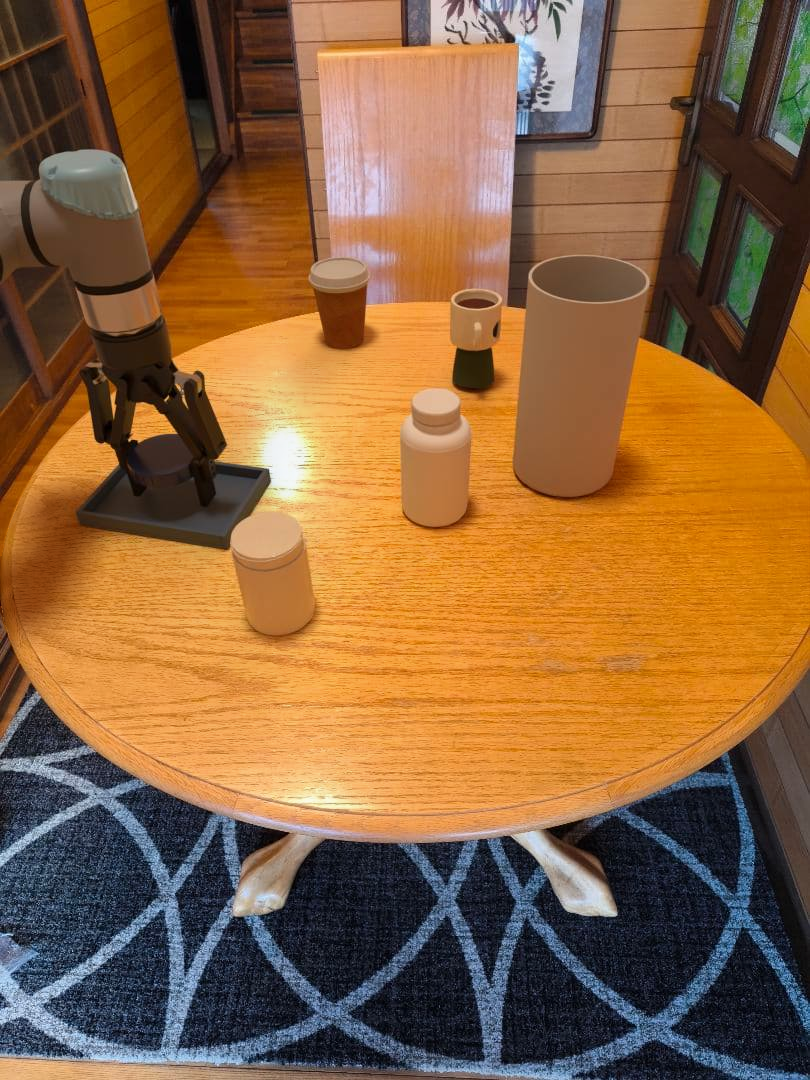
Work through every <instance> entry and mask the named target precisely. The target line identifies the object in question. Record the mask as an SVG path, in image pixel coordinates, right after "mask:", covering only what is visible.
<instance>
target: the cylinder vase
mask: <svg viewBox="0 0 810 1080" xmlns="http://www.w3.org/2000/svg"><path fill="white" fill-rule="evenodd" d="M650 284H651V280H650V277H649V275H648V274H647V273H646V272H645V271H644V270H643V269H641V268H640V267H639V266H637V265H636V264H633V263H631V262H629V261H625V260H622V259H618V258H614V257H609V256H603V255H595V254H569V255H561V256H555V257H552V258H548V259H545V260H543V261H541V262H539V263H537V264H535V265H533V267H532V268H531V269H530V270H529V272H528V278H527V289H526V290H527V291H526V303H525V314H524V324H523V336H522V349H521V359H520V371H519V382H518V393H517V394H518V395H517V405H516V417H515V428H514V429H515V430H514V441H513V452H512V467H513V471H514V473H515V475H516V476H517V477H518V478H519V480H520V481H521V482H522V483H524V484H525V485H526V486H527V487H529V488H531V489H533V490H534V491H537V492H538V493H542V494H544V495H548V496H552V497H560V498H575V497H583V496H587V495H590V494H593V493H595V492H597V491H599V490H600V489H602V488H603V487H605V486H606V485H607V484H608V483H609V481H610V480H611V478H612V476H613V472H614V468H615V464H616V458H617V453H618V447H619V444H620V443H619V442H620V439H621V432H622V428H623V423H624V418H625V411H626V408H627V407H626V406H627V401H628V396H629V392H630V386H631V383H632V376H633V371H634V365H635V362H636V356H637V350H638V346H639V340H640V335H641V330H642V325H643V320H644V316H645V315H644V314H645V310H646V305H647V299H648V295H649V289H650Z"/></svg>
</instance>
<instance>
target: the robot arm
mask: <svg viewBox="0 0 810 1080" xmlns="http://www.w3.org/2000/svg"><path fill="white" fill-rule="evenodd" d="M38 175H39V179H38V180H37V179H36V180H0V285H2V283H4V282H5V281H6V279H8V278H9V277H10V275H12V273H14V271H16V270H17V269H21V268H45V267H46V268H53V267H55V268H56V267H63V266H64V267H67V268H68V270H69V273H70V276H71V279H72V280H73V284H74V287H75V291H76V294H77V297H78V300H79V303H80V307H81V310H82V313H83V317H84V320H85V323H86V325H87V326H88V327H90V328H89V335H90V339H91V341H92V344H93V348H94V350H95V353H96V356H97V358H93V359H91V360H90V361H89V362H87V364H86V365H84V366H83V367H82V368H81V369H80V370H79V376H80V378H81V379H82V382H83V384H84V386H85V388H86V394H87V397H88V398H87V400H88V405H89V411H90V418H91V424H92V430H93V437H94V440H95V442H97V444H100V445H102V444H107V445H109V446H110V448H111V449H112V450H113V451H114V452H115V456H116V459H117V461H118V464H119V465H120V467H121V468H122V470H126V472H127V475H128V479H129V482H130V485H131V488H132V491H133V494H134V496H137V497H140V496H141V495H142V494H143V492H144V491H145V490H146V489H147V487H146V486H143V485H140V484H138V483H137V482H136V481H135V480H134V479H132V476H131V475H130V472H129V469H128V466H127V465H128V464H127V456H128V453H129V452H130V450H131V449H132V448H133V447H134V446H135V445H137V444H138V443H139V441H138V439H131V440H130V441H129V439H130V438H132V436H133V435H134V433H132V429H133V423H134V417H135V413H136V407H137V404H141V403H145V404H146V405H150V406H153V407H154V408H155V409H156V411H157V412H158V414H160V415H164V417H165V418H166V419H167V421H168V423H169V424H170V425H171V427H172V428H173V429H174V431H175V432H176V434H178V435H179V436H180V438H181V439H182V441H183V442H184V443H185V445H186V446H187V448H188V449H189V451H190V452H191V453H192V455H193V456H194V457H193V459H192V460H191V461H190V466H191V469H192V473H193V477H194V481H195V485H196V489H197V493H198V497H199V501H200V505H201V507H207V506H208V505H209V503H210V502H211V501H212V499H213V498H214V496H215V495H216V490H215V486H214V481H213V479H214V478H215V477H216V475H217V470H216V466H215V461H217V460H218V459H219V457H220V456H222V455H221V454H222V453H223V452H224V451H225V450H226V448H227V447H228V443H227V441H226V438H225V435H224V434H223V431H222V429H221V426H220V423H219V421H218V418H217V416H216V414H215V413H216V412H214V408H213V406H212V404H211V402H210V399H209V396H208V394H207V392H206V382H205V381H206V379H205V374H204V373H203V372H202V371H200V370H195V371H194V372H193V373H192V374H191V373H188V372H186V371H181V370H180V369H179V368H178V366H177V365H176V364H175V362H174V360H173V358H172V342H171V339H170V334H169V331H168V327H167V322H166V319H165V316H163V314H162V312H163V310H162V309H163V307H162V304H161V303H162V302H161V300H160V296H159V292H158V288H157V283H156V279H155V275H154V272H153V271H154V270H153V267H152V263H151V259H150V255H149V251H148V246H147V242H146V238H145V233H144V229H143V225H142V224H143V223H142V219H141V215H140V207H139V203H138V200H137V199H136V196H135V193H134V190H133V187H132V184H131V180H130V177H129V174H128V171H127V168H126V165H125V163H124V162H123V161H122V159H121V158H120V157H119V156H117V155H116V154H114V153H113V152H110V151H107V150H102V149H78V150H76V151H74V150H73V151H63V152H59V153H55V154H53V155H52V154H51V155H50V156H47V157H46V158H44V159H43V160H42V161H41V162H40V164H39V166H38ZM109 382H110V383H111V384H112V385H113V386H114V387H115V389H116V391H115V397H114V403H113V404H114V405H115V410H114V412H113V404H112V397H111V389H110V383H109ZM178 386H179V388H180V389H179V388H178ZM183 396H184V400H183ZM184 401H185V402H184Z"/></svg>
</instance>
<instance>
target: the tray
mask: <svg viewBox="0 0 810 1080" xmlns="http://www.w3.org/2000/svg"><path fill="white" fill-rule="evenodd" d="M214 461H215V466H216V470H217V475H216V477H215V478H214V479H213V481H214V486H215V490H216V495H215V496H214V498H213V499H212V501H211V502H210V503H209V505H208V506H207V507H201V505H200V501H199V497H198V493H197V489H196V485H195V481H194V477H192V478H191V479H189V480H187V481H186V482H183V483H181V484H178V485H175V486H171V487H164V488H152V487H147V489H146V490H145V491H144V492H143V494H142V495H141V496H140V497H137V496H134V494H133V491H132V488H131V485H130V482H129V479H128V475H127V472H126V470H122V468H121V467H120V465H119V463H118V464H117V465H116V467H114V469H113V470H112V471H111V472H110V473H109V474H108V475H107V477H106V478H105V479H104V480H103V481H102V482H101V483H100V484H99V485H98V486H97V487H96V489H95V490H94V491H93V492H92V493H91V494H90V495H89V497H88V498H86V500H85V501H84V502H83V503H82V504H81V505H80V506H79V508H78V509H77V510H76V511H75V512H74V514H75V516H76V519H77V521H78V524H79V526H81V527H86V528H87V527H88V528H95V529H99V530H106V531H112V532H119V533H125V534H129V535H137V536H143V537H149V538H155V539H161V540H167V541H172V542H178V543H179V542H180V543H184V544H191V545H198V546H202V547H209V548H215V549H221V550H229V549H230V548H231V545H230V541H231V534H232V531H233V530H234V528H235V527H236V526H237V525H238V524H239V523H240V522H241V521H242V520H244V519H245V518H247V517H249V516H251V514H252V512H253V511H254V509H255V507H256V506H257V505H258V504H259V501H260V500H261V498H263V497H262V496H263V495H264V494H265V491H267V489H268V487H269V485H270V484H271V483H272V477H271V472H270V468H268V467H261V466H253V465H245V464H244V465H243V464H237V463H232V462H223V461H217V460H214Z"/></svg>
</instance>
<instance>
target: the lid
mask: <svg viewBox="0 0 810 1080" xmlns="http://www.w3.org/2000/svg"><path fill="white" fill-rule="evenodd" d="M193 457H194V456H193V455H192V453H191V452H190V451H189V449H188V448H187V446H186V445H185V443H184V442H183V441H182V439H181V438H180V436H179V435H178V434H177V433H164V434H163V433H162V434H158V435H153V436H150V437H148V438H145V439H143V440H141V441H140V442H138V444H137V445H135V446H134V447H133V448H132V449H131V450H130V452H129V453H128V456H127V464H128V465H127V466H128V469H129V472H130V475H131V476H132V479H134V480H135V481H136V482H137V483H138V484H140V485H143V486H146V487H152V488H164V487H171V486H175V485H178V484H181V483H183V482H186V481H187V480H189V479H191V478H192V477H193V473H192V469H191V466H190V461H191V460H192V459H193Z"/></svg>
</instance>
